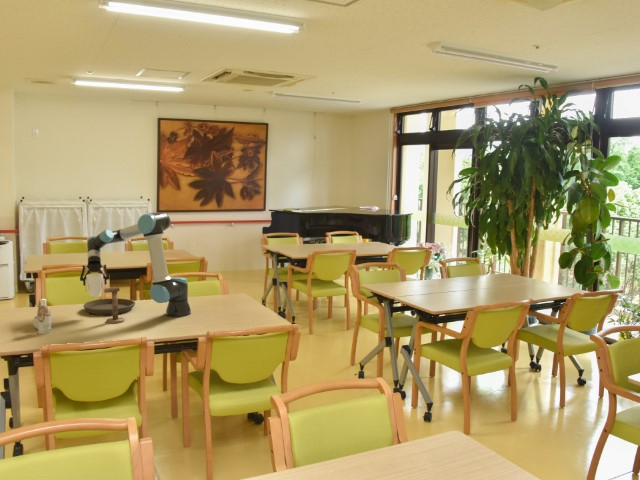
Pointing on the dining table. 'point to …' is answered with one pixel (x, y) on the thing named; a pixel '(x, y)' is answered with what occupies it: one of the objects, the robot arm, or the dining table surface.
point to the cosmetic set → (43, 318)
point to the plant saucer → (108, 306)
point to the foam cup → (94, 284)
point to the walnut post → (114, 306)
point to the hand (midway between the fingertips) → (95, 289)
